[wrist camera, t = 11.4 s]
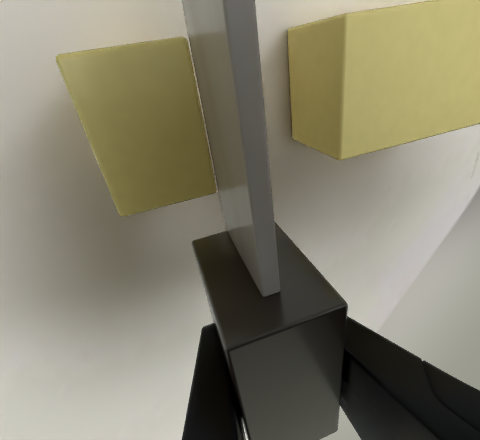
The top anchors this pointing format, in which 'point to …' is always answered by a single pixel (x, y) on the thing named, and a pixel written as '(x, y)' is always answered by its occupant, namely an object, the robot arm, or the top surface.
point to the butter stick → (385, 76)
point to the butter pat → (142, 121)
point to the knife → (260, 248)
